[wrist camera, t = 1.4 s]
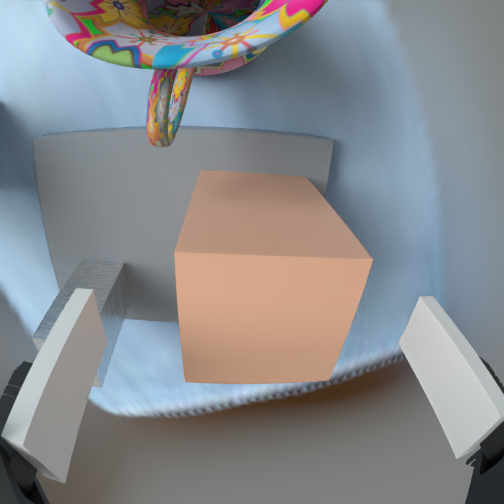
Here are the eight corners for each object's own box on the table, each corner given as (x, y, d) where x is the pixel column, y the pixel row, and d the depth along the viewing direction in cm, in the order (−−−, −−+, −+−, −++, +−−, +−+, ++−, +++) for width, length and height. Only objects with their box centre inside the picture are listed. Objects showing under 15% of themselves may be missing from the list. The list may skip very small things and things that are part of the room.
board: (43, 135, 16) (32, 139, 15) (326, 137, 18) (334, 141, 17) (72, 301, 23) (66, 312, 21) (294, 312, 25) (298, 324, 23)
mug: (149, -46, 11) (90, -129, 2) (296, -34, 12) (357, -120, 3) (116, 121, 16) (14, 160, 7) (263, 135, 18) (304, 184, 9)
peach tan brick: (200, 170, 17) (174, 252, 9) (306, 177, 18) (373, 259, 9) (199, 262, 20) (185, 381, 12) (291, 266, 21) (328, 380, 12)
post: (81, 259, 19) (31, 337, 12) (124, 262, 20) (85, 346, 13) (90, 297, 21) (52, 377, 14) (130, 301, 21) (101, 387, 14)
